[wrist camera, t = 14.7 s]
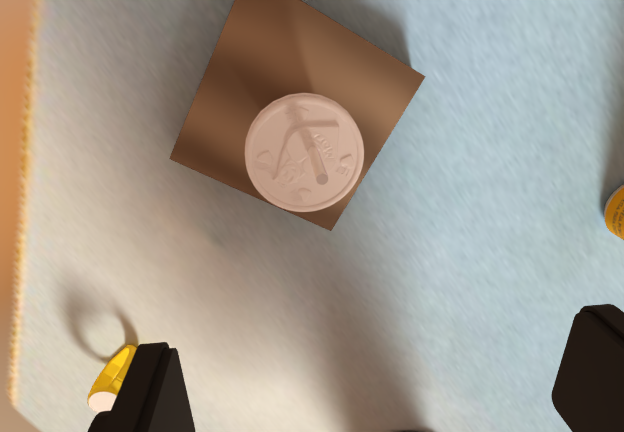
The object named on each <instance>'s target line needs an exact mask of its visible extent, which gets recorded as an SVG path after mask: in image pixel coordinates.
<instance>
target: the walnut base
mask: <svg viewBox="0 0 624 432" xmlns="http://www.w3.org/2000/svg"><path fill="white" fill-rule="evenodd" d="M424 78H425V76H424V75H422V74H420V73H419V72H417V71H415V70H414V69H412V68H411V67H409V66H407V65H406V64H404V63H402V62H401V61H399V60H397V59H396V58H394V57H393V56H391V55H389V54H388V53H386V52H384V51H383V50H381V49H380V48H378V47H376V46H375V45H373V44H371V43H370V42H368V41H366V40H365V39H363V38H362V37H360V36H358V35H357V34H355V33H353V32H352V31H350V30H349V29H347V28H345V27H344V26H342V25H340V24H339V23H337V22H335V21H334V20H332V19H331V18H329V17H327V16H326V15H324V14H322V13H321V12H319V11H317V10H316V9H314V8H313V7H311V6H309V5H308V4H306V3H304V2H303V1H301V0H235V1H234V4H233V6H232V8H231V11H230V13H229V16H228V18H227V21H226V23H225V25H224V28H223V30H222V33H221V35H220V38H219V40H218V42H217V45H216V47H215V50H214V52H213V54H212V57H211V59H210V62H209V64H208V67H207V69H206V71H205V74H204V76H203V79H202V81H201V83H200V86H199V88H198V91H197V93H196V96H195V98H194V100H193V103H192V105H191V108H190V110H189V112H188V115H187V117H186V120H185V122H184V125H183V127H182V129H181V132H180V134H179V137H178V139H177V141H176V144H175V146H174V149H173V151H172V154H171V156H170V158H169V159H171V160H173V161H175V162H178V163H180V164H182V165H184V166H187V167H189V168H191V169H193V170H196V171H198V172H200V173H202V174H205V175H207V176H209V177H211V178H214V179H216V180H218V181H220V182H222V183H225V184H227V185H229V186H231V187H234V188H236V189H238V190H240V191H243V192H245V193H247V194H249V195H252V196H254V197H256V198H258V199H261V200H263V201H265V202H267V203H269V204H272V205H274V204H273V203H271V202H269V201H268V200H267V199H266V198H264V197H263V196H262V195H261V194H260V193H259V192H258V190H257V189H256V188H255V186H254V185H253V183H252V181H251V179H250V177H249V175H248V171H247V168H246V162H245V142H246V137H247V134H248V131H249V129H250V126H251V124H252V122H253V121H254V120H255V118H256V117H257V116H258V114H259V113H260V111H262V110H263V109H264V108H265V107H267V106H268V105H269V104H270V103H272V102H273V101H275V100H277V99H280V98H282V97H284V96H287V95H290V94H298V93H311V94H318V95H322V96H324V97H327V98H329V99H331V100H333V101H336V102H337V103H338V104H339V105H340V106H342V107H343V108H344V109H345V110H346V111H348V113H349V114H350V116H351V117H352V119H353V120H354V122H355V123H356V125H357V127H358V129H359V131H360V134H361V137H362V140H363V146H364V160H363V166H362V170H361V173H360V175H359V177H358V179H357V181H356V183H355V185H354V186H353V187H352V189H351V190H350V191H349V192H348V193H347V194H346V195H345V196H344V197H343V198H342V199H341V200H339V201H338V202H336V203H335V204H333V205H331V206H329V207H326V208H324V209H321V210H317V211H311V212H296V211H290V210H286V209H283V208H281V207H278V206H276V205H274V206H276V207H278V208H281V209H283V210H285V211H287V212H290V213H292V214H294V215H296V216H299V217H301V218H303V219H305V220H308V221H310V222H312V223H314V224H316V225H319V226H321V227H323V228H325V229H328V230H330V231H331V230H332V229H333V227H334V225H335V224H336V222H337V220H338V219H339V217H340V215H341V214H342V212H343V211H344V209H345V207H346V206H347V204H348V202H349V201H350V199H351V197H352V196H353V194H354V193H355V191H356V189H357V188H358V186H359V184H360V183H361V181H362V179H363V178H364V176H365V175H366V173H367V171H368V170H369V168H370V166H371V165H372V163H373V161H374V160H375V158H376V157H377V155H378V153H379V152H380V150H381V148H382V147H383V145H384V143H385V142H386V140H387V139H388V137H389V135H390V134H391V132H392V130H393V129H394V127H395V125H396V124H397V122H398V121H399V119H400V117H401V116H402V114H403V112H404V111H405V109H406V107H407V106H408V104H409V103H410V101H411V99H412V98H413V96H414V94H415V93H416V91H417V89H418V88H419V86H420V85H421V83H422V81H423V80H424Z"/></svg>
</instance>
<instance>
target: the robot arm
mask: <svg viewBox="0 0 624 432" xmlns="http://www.w3.org/2000/svg"><path fill="white" fill-rule="evenodd" d="M552 402H553V404H554V407H555V409H556V410H557V412H558V413H559V414H560V416H561V417H562V418H563V420H564V421H565V422H566V424H567V425H568V426H569V428H570V429H571V430H572V432H624V312H622V311H621V310H620V309H619V308H617V307H616V306H614V305H611V304H603V305H592V306H584V307H583V308H582V309H581V310H580V312H579V313H578V314H576V315H575V317H574V320H573V324H572V327H571V330H570V334H569V337H568V340H567V344H566V347H565V350H564V354H563V357H562V360H561V364H560V367H559V370H558V374H557V377H556V380H555V384H554V387H553V390H552ZM88 432H195V427H194V422H193V418H192V413H191V409H190V404H189V400H188V395H187V391H186V386H185V382H184V378H183V373H182V369H181V364H180V360H179V355H178V351H177V349H176V348H170V349H169V345H168V344H167V342H161V343H150V344H140V345H139V346H138V347H137V349H136V351H135V354H134V356H133V358H132V361H131V363H130V366H129V368H128V370H127V373H126V375H125V378H124V380H123V382H122V385H121V387H120V390H119V392H118V394H117V397H116V399H115V401H114V404H113V406H112V409H111V410H110V411H102V412H99V413H98V414H97V415H96V416H95V418H94V420H93V421H92V423H91V425H90V427H89V430H88Z"/></svg>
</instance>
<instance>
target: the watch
mask: <svg viewBox="0 0 624 432" xmlns="http://www.w3.org/2000/svg"><path fill="white" fill-rule="evenodd" d="M136 349H137V348H136V347H134V346H133V345H126V347H125V348H124V349H123V350H121V351H120V352H119V353H118V354H117V355H116V356H115V357H114V358H112V359H111V360H110V361H109V362H108V364H107V365H106V366H105V368H104V369H103V370H102V372H101V373H100V375H99V376H98V378H97V379H96V381H95V383H94V385H93V386H92V388H91V390H90V393H89V395H88V404H89V406H90V408H91V409H92V410H94V411H95V412H98V413H99V412H102V411H110V410H111V409H112V406H113V404H114V401H115V399H116V397H117V394H118V392H119V390H120V387H121V385H122V382H123V380H124V378H125V375H126V373H127V370H128V368H129V366H130V363H131V361H132V358H133V356H134V354H135V351H136ZM117 373H118V374H117ZM115 376H116V378H114V377H115ZM112 380H113V381H112Z"/></svg>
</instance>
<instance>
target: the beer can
mask: <svg viewBox="0 0 624 432" xmlns="http://www.w3.org/2000/svg"><path fill="white" fill-rule="evenodd" d="M604 217H605V223H606V226H607V228H608V229H609V231H611V232H612V233H613V234H615V235H616V236H618V237H620V238H621V239H623V240H624V185H622V186H620V187H619V188H618V189H617V190H615V191H614V192H613V193H612V195H611V196H610V197H609V199H608V201H607V203H606V205H605V209H604Z"/></svg>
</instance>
